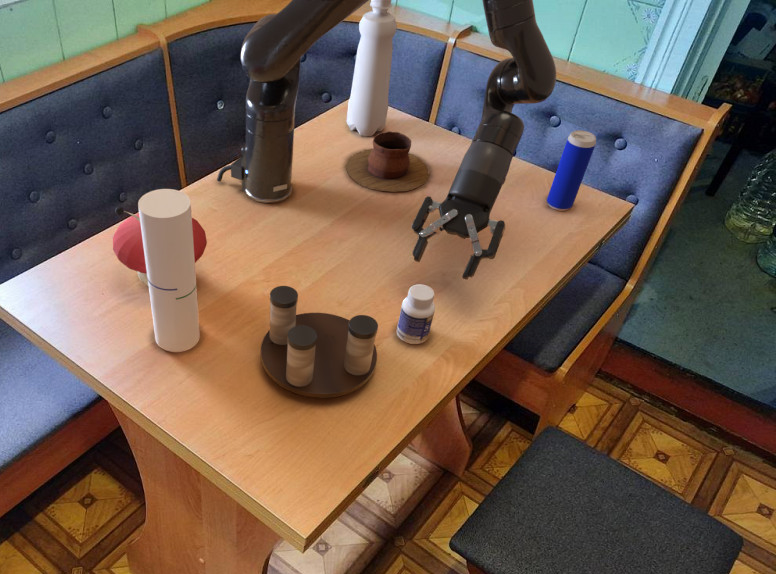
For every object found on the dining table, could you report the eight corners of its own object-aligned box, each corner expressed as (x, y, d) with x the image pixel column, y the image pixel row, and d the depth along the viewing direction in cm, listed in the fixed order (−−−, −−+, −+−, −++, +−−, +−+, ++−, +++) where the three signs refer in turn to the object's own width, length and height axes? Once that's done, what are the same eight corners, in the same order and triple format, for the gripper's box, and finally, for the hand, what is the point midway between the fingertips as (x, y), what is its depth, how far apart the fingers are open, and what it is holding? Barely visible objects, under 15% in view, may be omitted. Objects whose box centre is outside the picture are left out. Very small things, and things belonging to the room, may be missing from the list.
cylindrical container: (155, 322, 119) (139, 189, 101) (199, 321, 120) (190, 188, 102) (154, 353, 114) (136, 218, 96) (200, 351, 115) (190, 217, 97)
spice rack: (284, 410, 105) (286, 364, 98) (245, 330, 116) (245, 284, 110) (396, 381, 109) (406, 335, 103) (347, 307, 121) (353, 261, 114)
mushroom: (196, 244, 135) (192, 172, 124) (218, 297, 124) (216, 223, 114) (111, 259, 131) (99, 185, 120) (127, 314, 121) (115, 239, 110)
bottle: (363, 115, 172) (379, -23, 150) (393, 129, 168) (414, -11, 146) (337, 127, 167) (350, -13, 146) (367, 142, 163) (385, 0, 141)
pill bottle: (427, 347, 117) (437, 305, 111) (394, 342, 118) (403, 300, 111) (429, 325, 121) (439, 284, 114) (397, 320, 121) (406, 279, 115)
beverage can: (572, 200, 149) (598, 132, 138) (571, 214, 145) (597, 145, 134) (546, 195, 150) (570, 127, 139) (544, 208, 146) (568, 139, 135)
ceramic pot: (434, 194, 149) (441, 163, 144) (348, 191, 149) (351, 160, 144) (423, 150, 161) (429, 120, 156) (343, 147, 161) (346, 117, 156)
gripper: (436, 156, 117) (396, 250, 118) (522, 182, 112) (479, 280, 113) (442, 171, 124) (404, 260, 125) (523, 196, 119) (483, 288, 121)
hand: (440, 269), depth 119 cm, fingers open, 8 cm apart
